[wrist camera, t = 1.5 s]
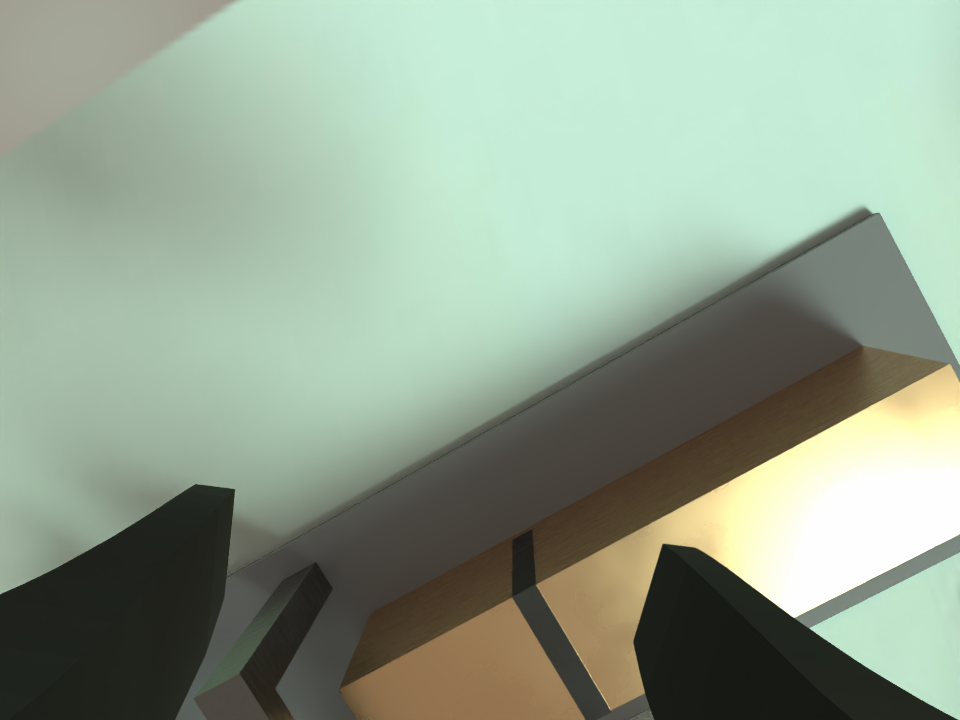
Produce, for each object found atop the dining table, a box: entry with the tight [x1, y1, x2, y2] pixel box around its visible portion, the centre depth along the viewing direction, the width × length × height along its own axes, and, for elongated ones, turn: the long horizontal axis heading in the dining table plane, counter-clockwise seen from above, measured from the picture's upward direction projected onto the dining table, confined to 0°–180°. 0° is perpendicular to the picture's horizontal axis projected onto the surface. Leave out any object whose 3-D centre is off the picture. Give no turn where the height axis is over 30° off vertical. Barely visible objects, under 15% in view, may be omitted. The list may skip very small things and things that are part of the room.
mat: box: [175, 213, 960, 720], centre depth 27 cm, size 38×12×1 cm, turn 120°
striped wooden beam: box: [338, 346, 960, 720], centre depth 23 cm, size 20×5×5 cm, turn 120°
